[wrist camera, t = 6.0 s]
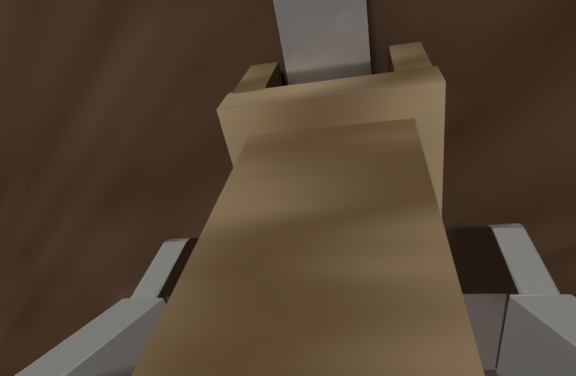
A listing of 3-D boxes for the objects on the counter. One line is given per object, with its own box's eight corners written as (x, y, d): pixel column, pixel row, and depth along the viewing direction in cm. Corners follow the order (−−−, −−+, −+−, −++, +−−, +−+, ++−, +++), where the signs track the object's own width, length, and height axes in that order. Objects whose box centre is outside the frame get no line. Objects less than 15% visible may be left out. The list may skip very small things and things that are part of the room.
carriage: (424, 41, 10) (591, 360, 3) (424, 198, 13) (512, 575, 6) (247, 66, 11) (42, 349, 4) (280, 207, 14) (194, 534, 7)
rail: (314, -715, 6) (298, -981, 4) (384, 262, 15) (387, 303, 14) (182, -641, 6) (115, -849, 4) (332, 263, 16) (329, 304, 14)
